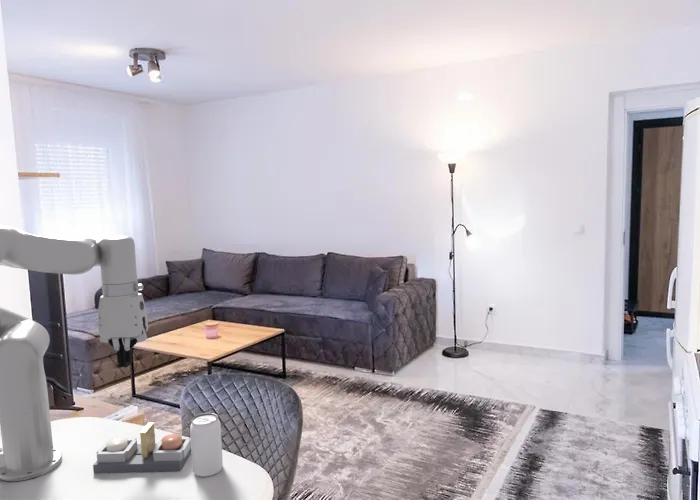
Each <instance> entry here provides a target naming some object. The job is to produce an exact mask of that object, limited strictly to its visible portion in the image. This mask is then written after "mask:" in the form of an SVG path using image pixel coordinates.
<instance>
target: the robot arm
mask: <svg viewBox="0 0 700 500" xmlns="http://www.w3.org/2000/svg"><path fill="white" fill-rule="evenodd" d="M136 257H137V256H136V245H135V240H134V238H133V237H132V236H129V235H112V236H103V237H102V236H101V237H99V236H98V237H96V236H88V235H87V236H83V235H80V236H74V237H73V238H70V239H69V238H59V237H52V236H51V237H50V236H45V235H43V236H42V235H37V234H32V233H29V232H26V231H24V230H22V229H19V228H17V227H14V226H9V225H3V224H0V266H5V267H9V268H14V269H21V270H28V271H34V272H39V273H49V274H59V275H70V276H71V275H73V276H75V275H83V274H85V273H88V272H89V271H91V270H92V269H93V268H94V267H100V275H101V276H100V278H101V289H102V295H101V296H100V297H99V300H98V301H99V303H98V309H97V310H98V311H97V312H98V313H97V317H98V318H97V326H98V334H99V341H100V342H101V343H106V344H109V345H111V347H112V348H113V350H114V351H115V352H116V357H117V358H116V360H117V361H116V362H117V363H118V366H119V369H121V368H128V367H129V366H131V365H132V363H133V360H134V355H133V348H134V346H135V345H136V344H139V343H143V342H145V341H147V340H148V336H147V332H148V330H149V323H148V321H149V320H148V315H147V308H146V304H145V300H144V297H143V293H141V292H139V291H142V290H144V284H142V283H139V280H138V277H137V276H138V274H137V273H138V272H137V259H136ZM49 346H50V334H49V332H48V330H47V329H46V328H45V327H44V326H43V325H42V324H40V323H39V322H37V321H35V320H33V319H31V318H28V317H26V316H24V315H21V314H19V313H17V312H14V311H11V310H9V309H7V308H4V307H2V306H0V436H1V444H2V445H1V447H0V480H3V481H7V482H18V481H26V480H29V479H33V478H36V477H39V476H43V475H45V474H47V473H49V472H51V471H52V470H54V469H55V468H56V467H58V465H60V463H61V462H62V460H63V457H62V452H61V451H60V449H57V448H54V443H53V435H52V434H53V433H52V423H51V414H50V413H51V412H50V403H49V402H50V401H49V394H48V391H49V390H48V384H47V378H46V377H47V376H46V373H45V368H44V367H45V365H44V356H45V354H46V352H47V350H48V348H49Z"/></svg>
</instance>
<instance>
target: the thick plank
mask: <svg viewBox="0 0 700 500" xmlns="http://www.w3.org/2000/svg"><path fill="white" fill-rule="evenodd" d="M155 434H156V433H155V422H151V421H150V422H147V424H146V425H145V426H144V427H143V428H142V430H141V431H140V432H139V435H140V437H139V438H140V444H141V450H142V458H148V456H149V455H150V454H151V452H152V451H153V449H154V448H155V444H156V436H155Z"/></svg>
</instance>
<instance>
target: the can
mask: <svg viewBox="0 0 700 500" xmlns="http://www.w3.org/2000/svg"><path fill="white" fill-rule="evenodd" d="M221 427H222V425H221V421H220V420H219V416H218V414H216V413H213V412H204V413H199V414H197V415H195V416H194V417H192V419H191V424H190V428H189V430H190V436H189V437H190V439H191V453H190V454H191V466H192V472H193V474H194V475H195V476H196V477H199V478H208V477H212V476H215V475H217V474H219V473H220V472H221V470H222V469H223V465H224V464H223V444H222V443H223V442H222V433H221V432H222V428H221Z"/></svg>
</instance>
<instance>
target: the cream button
mask: <svg viewBox="0 0 700 500" xmlns="http://www.w3.org/2000/svg"><path fill="white" fill-rule="evenodd" d="M112 439H113V440H110V439H109V440H110V441H109V440H108V441H109V442H107V444H106V447H107V452H111V451H124V450H125V449H126V448H127V446H128V443H127V439H126V438H125V437H116V438H112Z"/></svg>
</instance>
